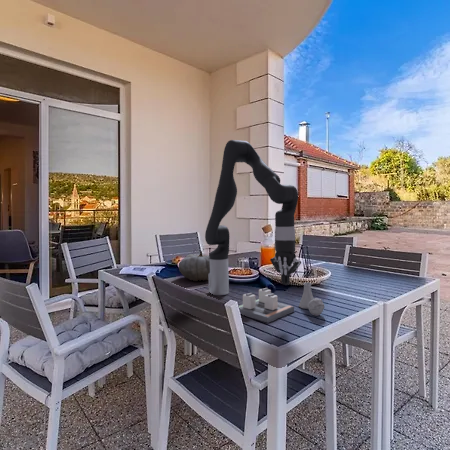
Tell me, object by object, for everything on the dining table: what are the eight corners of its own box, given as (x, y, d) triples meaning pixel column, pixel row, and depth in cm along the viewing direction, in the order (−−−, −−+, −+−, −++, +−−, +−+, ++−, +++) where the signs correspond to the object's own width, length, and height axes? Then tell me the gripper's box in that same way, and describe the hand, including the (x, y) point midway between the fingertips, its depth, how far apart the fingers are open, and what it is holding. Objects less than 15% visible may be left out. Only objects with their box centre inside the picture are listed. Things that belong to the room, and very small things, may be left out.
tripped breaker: (264, 308, 128) (264, 294, 127) (269, 306, 130) (269, 292, 129) (272, 310, 125) (272, 296, 124) (277, 308, 127) (277, 294, 127)
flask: (319, 306, 135) (319, 283, 135) (311, 311, 130) (311, 286, 129) (303, 303, 140) (303, 280, 139) (295, 307, 135) (295, 283, 134)
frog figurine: (312, 319, 120) (312, 301, 120) (304, 313, 127) (304, 295, 127) (327, 318, 122) (327, 299, 121) (319, 312, 128) (319, 294, 128)
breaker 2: (258, 301, 136) (258, 288, 136) (263, 299, 138) (263, 287, 138) (266, 303, 133) (266, 290, 133) (271, 301, 135) (270, 288, 135)
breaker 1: (242, 307, 129) (242, 293, 129) (248, 305, 131) (247, 291, 131) (250, 309, 126) (250, 295, 126) (255, 307, 128) (255, 293, 128)
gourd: (186, 282, 171) (186, 249, 174) (171, 280, 193) (172, 251, 196) (228, 281, 182) (227, 250, 185) (209, 279, 204) (209, 252, 207)
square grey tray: (234, 312, 130) (234, 307, 130) (261, 302, 142) (261, 298, 142) (267, 322, 118) (267, 317, 118) (294, 311, 130) (294, 306, 130)
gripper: (264, 238, 123) (265, 283, 124) (294, 240, 113) (295, 289, 114) (276, 236, 128) (277, 279, 129) (305, 238, 118) (306, 285, 119)
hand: (285, 284), depth 121 cm, fingers closed
